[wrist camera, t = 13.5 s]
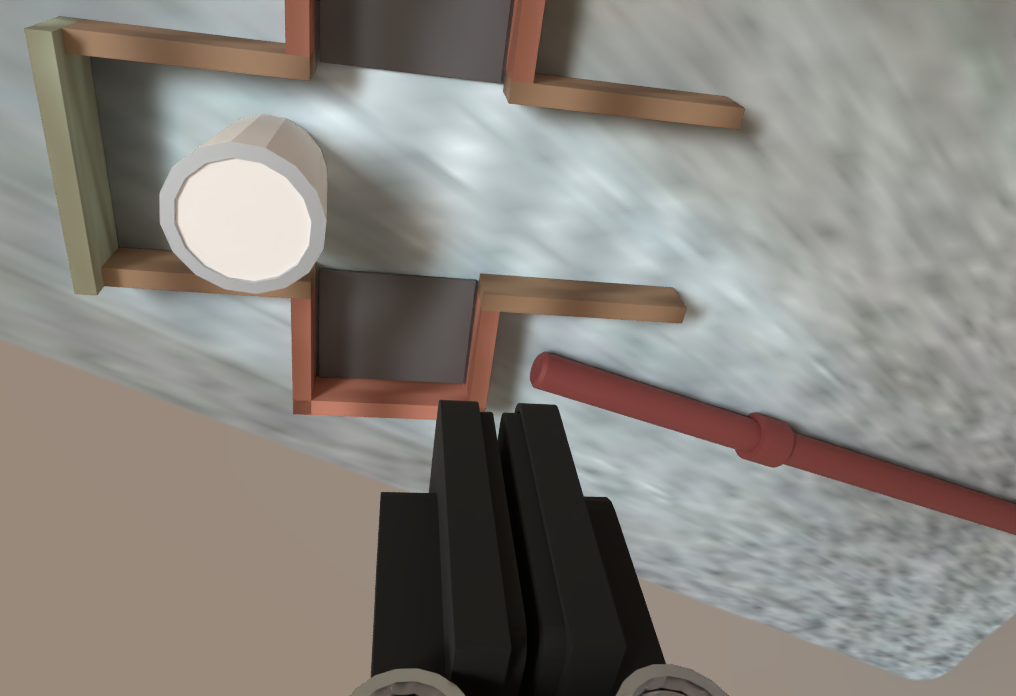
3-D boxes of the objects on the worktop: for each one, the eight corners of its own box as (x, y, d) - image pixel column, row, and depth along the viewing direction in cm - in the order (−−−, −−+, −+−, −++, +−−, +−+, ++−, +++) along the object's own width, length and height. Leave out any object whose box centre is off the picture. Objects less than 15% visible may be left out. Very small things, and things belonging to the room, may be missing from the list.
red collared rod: (522, 374, 46) (529, 404, 43) (543, 333, 44) (552, 362, 42) (1022, 529, 59) (1051, 559, 57) (1051, 502, 58) (1082, 532, 55)
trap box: (773, -71, 34) (808, -67, 31) (640, 404, 47) (655, 438, 44) (25, -193, 28) (-20, -203, 25) (120, 381, 42) (98, 417, 39)
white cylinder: (333, 101, 35) (317, 142, 30) (345, 233, 39) (333, 293, 33) (186, 100, 35) (139, 142, 29) (212, 234, 38) (175, 297, 32)
